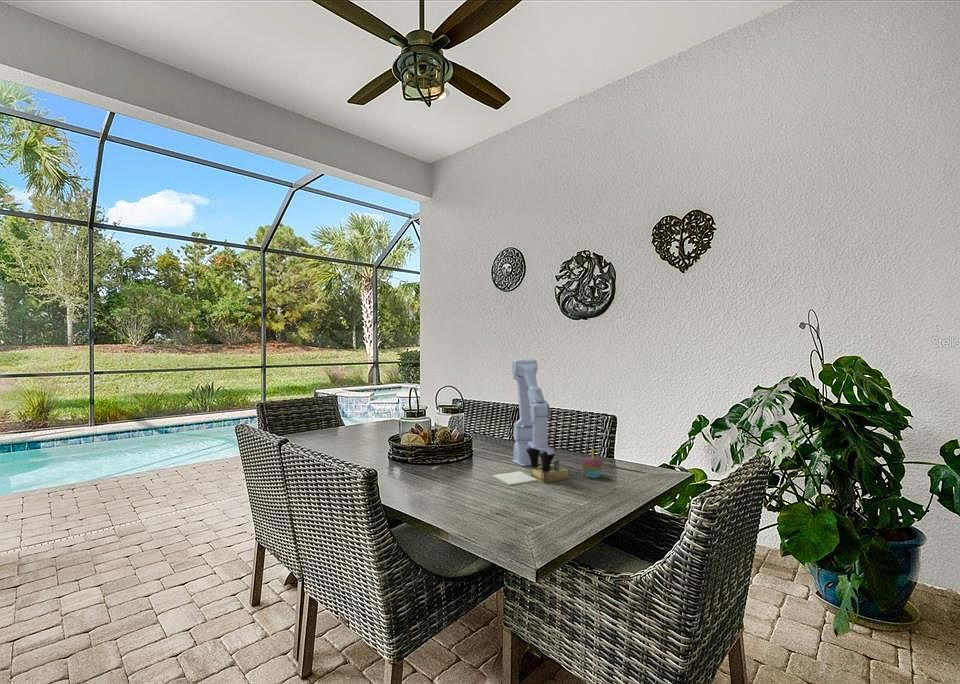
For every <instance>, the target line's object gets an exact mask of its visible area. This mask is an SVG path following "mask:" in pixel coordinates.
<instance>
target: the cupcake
mask: <svg viewBox="0 0 960 684" xmlns="http://www.w3.org/2000/svg"><path fill="white" fill-rule="evenodd" d="M594 448H595V447H592V448H591V456H589V457H585V458H584V459H582V461H581V463H580V464H581V468H584V471H585V475H586V477H587V478H590V479H597V478H600V477H601V472H602V470H603V469H604V468H605V463H604V462H603V460H602V459H600V458H598V457H594V454H595V453H594V451H595V450H594Z"/></svg>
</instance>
